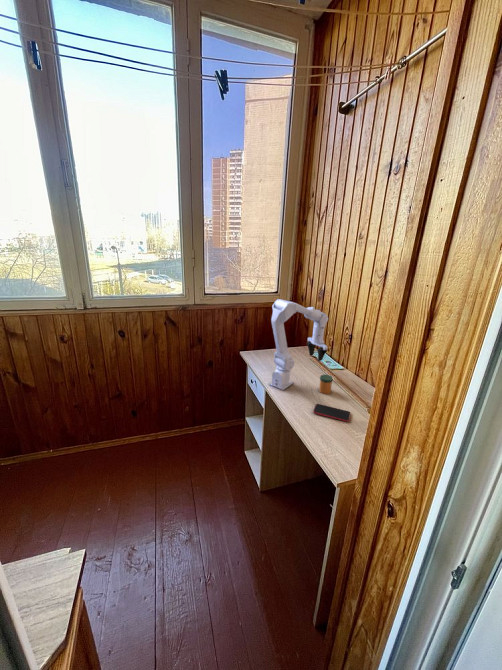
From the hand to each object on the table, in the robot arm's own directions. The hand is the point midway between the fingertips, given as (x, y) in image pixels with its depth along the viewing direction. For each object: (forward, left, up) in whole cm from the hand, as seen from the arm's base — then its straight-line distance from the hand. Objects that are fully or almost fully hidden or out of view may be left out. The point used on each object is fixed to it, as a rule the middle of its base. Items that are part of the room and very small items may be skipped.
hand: (315, 357), depth 160 cm
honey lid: (-13, -13, -3) cm, 18 cm away
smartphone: (-29, -24, -10) cm, 39 cm away
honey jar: (-13, -13, -10) cm, 21 cm away
